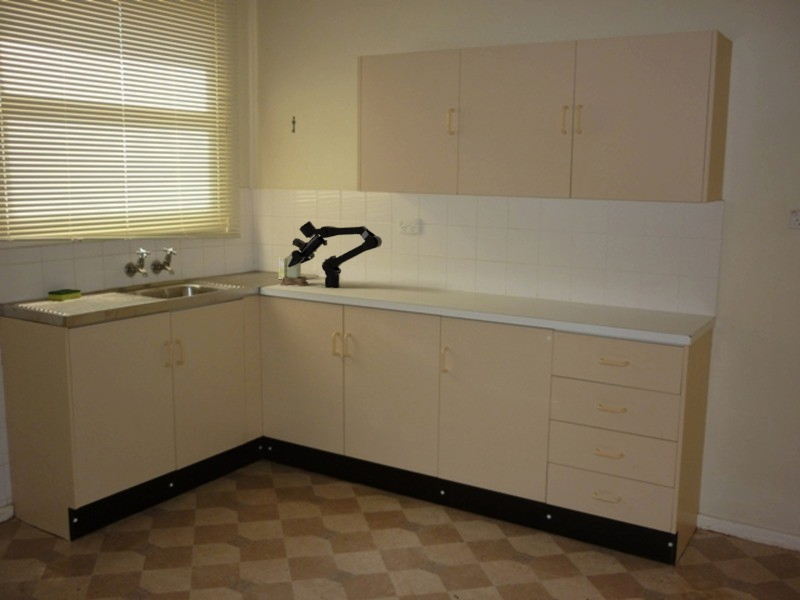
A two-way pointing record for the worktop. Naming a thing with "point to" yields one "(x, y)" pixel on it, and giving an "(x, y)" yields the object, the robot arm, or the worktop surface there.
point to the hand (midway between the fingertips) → (292, 265)
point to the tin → (293, 269)
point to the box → (284, 267)
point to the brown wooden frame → (294, 281)
